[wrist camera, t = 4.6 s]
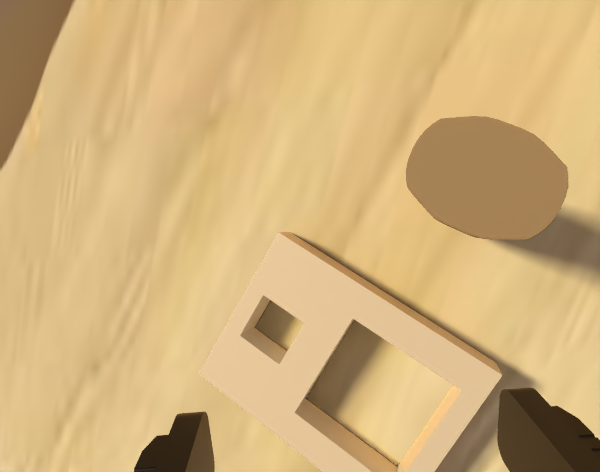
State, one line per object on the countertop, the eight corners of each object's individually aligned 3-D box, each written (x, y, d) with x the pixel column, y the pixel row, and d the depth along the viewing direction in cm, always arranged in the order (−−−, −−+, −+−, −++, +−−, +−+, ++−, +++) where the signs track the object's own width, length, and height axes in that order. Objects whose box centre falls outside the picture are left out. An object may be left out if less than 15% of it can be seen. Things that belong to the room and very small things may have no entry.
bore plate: (215, 363, 38) (198, 373, 35) (290, 232, 36) (278, 232, 33) (397, 503, 34) (394, 528, 31) (495, 362, 31) (502, 375, 29)
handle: (433, 156, 33) (437, 97, 18) (515, 190, 31) (590, 153, 17) (405, 213, 33) (388, 198, 19) (484, 248, 32) (531, 262, 17)
